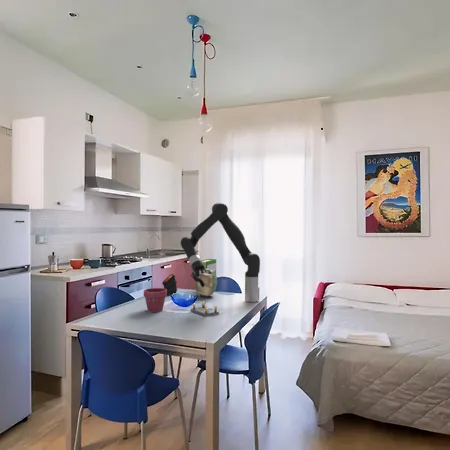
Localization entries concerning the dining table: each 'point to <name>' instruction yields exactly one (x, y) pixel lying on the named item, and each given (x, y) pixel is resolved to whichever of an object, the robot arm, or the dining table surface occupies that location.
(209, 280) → the panel
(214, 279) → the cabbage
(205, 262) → the hardback book
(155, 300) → the plant pot
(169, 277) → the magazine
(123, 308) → the dining table surface
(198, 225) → the robot arm
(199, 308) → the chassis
